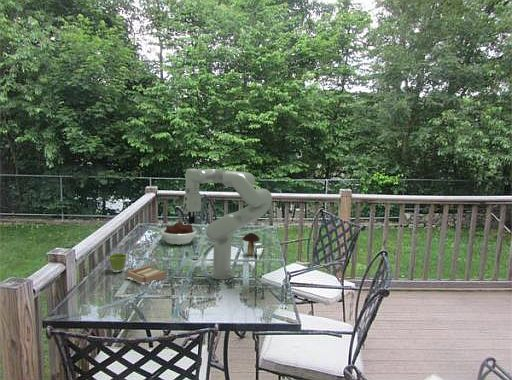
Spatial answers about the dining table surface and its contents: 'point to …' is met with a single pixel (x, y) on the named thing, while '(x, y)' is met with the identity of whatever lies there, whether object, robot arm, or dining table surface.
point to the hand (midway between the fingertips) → (191, 223)
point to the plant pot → (117, 261)
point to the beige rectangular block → (148, 272)
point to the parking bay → (148, 278)
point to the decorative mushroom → (251, 242)
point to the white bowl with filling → (178, 233)
